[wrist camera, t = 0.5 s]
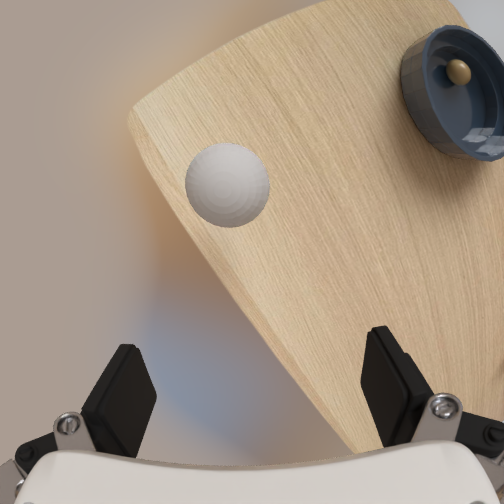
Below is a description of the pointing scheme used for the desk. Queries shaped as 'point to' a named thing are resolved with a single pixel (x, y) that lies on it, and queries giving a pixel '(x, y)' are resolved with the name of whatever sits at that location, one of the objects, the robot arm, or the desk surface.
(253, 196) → the lollipop
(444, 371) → the desk surface
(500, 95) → the bowl
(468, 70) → the bead
